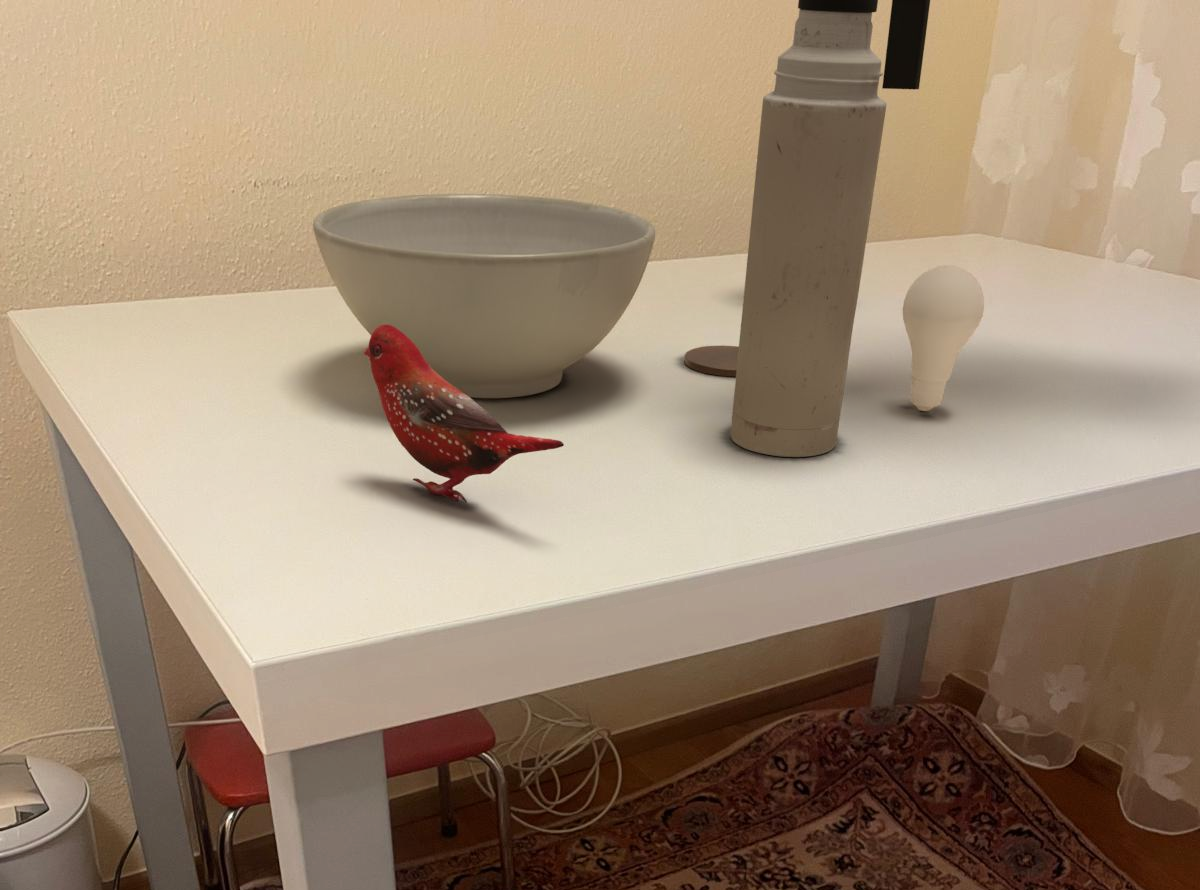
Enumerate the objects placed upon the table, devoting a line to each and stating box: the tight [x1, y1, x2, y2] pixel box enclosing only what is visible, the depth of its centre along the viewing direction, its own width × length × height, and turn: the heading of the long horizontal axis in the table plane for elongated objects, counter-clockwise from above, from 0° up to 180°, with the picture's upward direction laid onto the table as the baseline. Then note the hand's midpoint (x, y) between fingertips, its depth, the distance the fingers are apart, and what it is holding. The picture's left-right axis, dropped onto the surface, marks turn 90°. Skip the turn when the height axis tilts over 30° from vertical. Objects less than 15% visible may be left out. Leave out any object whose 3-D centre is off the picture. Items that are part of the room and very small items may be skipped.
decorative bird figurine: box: [363, 325, 565, 503], centre depth 75 cm, size 3×18×10 cm, turn 49°
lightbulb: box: [902, 264, 985, 412], centre depth 94 cm, size 6×6×11 cm
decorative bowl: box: [312, 193, 656, 399], centre depth 98 cm, size 27×27×12 cm
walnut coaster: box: [684, 345, 739, 378], centre depth 107 cm, size 8×8×1 cm
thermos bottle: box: [729, 0, 887, 458], centre depth 82 cm, size 8×8×28 cm
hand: (863, 92), depth 88 cm, fingers open, 13 cm apart
